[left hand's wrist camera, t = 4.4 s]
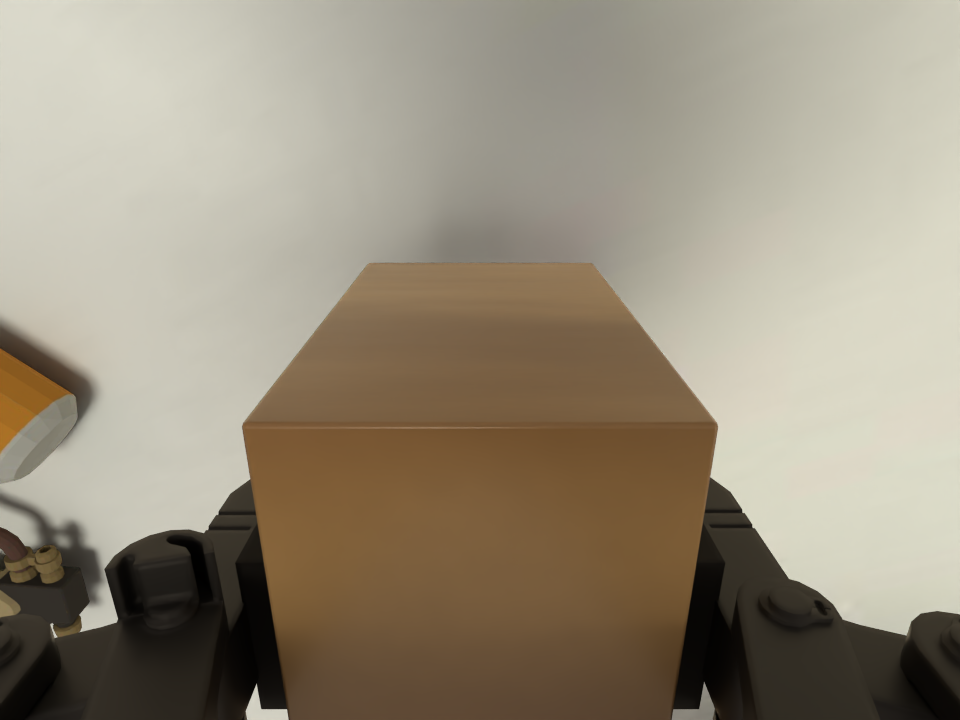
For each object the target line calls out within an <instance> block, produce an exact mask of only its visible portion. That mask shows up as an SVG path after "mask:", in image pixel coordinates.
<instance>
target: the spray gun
mask: <svg viewBox="0 0 960 720" xmlns="http://www.w3.org/2000/svg"><path fill="white" fill-rule="evenodd" d="M77 418H78V415H77V404H76V397H75V396H74V394H72V393H70V392H69V391H67V390H66V389H64V388H62V387H61V386H59V385H58V384H56V383H55V382H53V381H51V380H50V379H48V378H47V377H45V376H43V375H42V374H40V373H39V372H37V371H35V370H34V369H32V368H31V367H29V366H27V365H26V364H24V363H23V362H21V361H20V360H18V359H16V358H15V357H13V356H12V355H10V354H8V353H7V352H5V351H4V350H2V349H0V484H2V483H6V482H11V481H15V480H18V479H21V478H23V477H24V476H26V475H28V474H29V473H31V472H32V471H33V470H34V469H35V468H36V467H38V466H39V465H40V464H41V463H42V462H43V461H44V460H45V459H46V458H47V457H48V456H49V455H50V454H51V453H52V452H53V451H54V450H55V449H56V448H57V446H58V445H59V444H60V443H61V442H62V441H63V440H64V438H65V437H66V436H67V434H68V433H69V432H70V430H71V429H72V428H73V426H74V424H75V422H76V420H77ZM0 549H2V550H3V551H4V553H5V554H6V555H5V557H4V563H5V566H6V569H5V570H3V571H1V570H0V617H4V616H11V615H18V614H30V615H36V616H41V617H42V618H43V619H44V620H46V621H47V622H48V623H49V624H51V623H53V624H54V625H53V629H54V631H55V633H56V635H57V637H62V636H66V635H70V634H75V633H78V632H80V630H81V628H82V624H81V617H80V616H79V614H80V613H81V612H82V611H83V610H84V608H85V607H86V606H87V605H88V604H89V598H88V594H87V591H86V587H85V583H84V580H83V576H82V573H81V569H80V568H77V567H63V566H60V565H61V563H62V557H61V554H60V552H59V551H58V550H57V549H56V547H55V546H53V545H45V546H43V547H41V548H40V549H38V550H37V551H36V553H35V554H33V551H32V549H31V548H30V547H27V546H24V544H23V543H22V542H21V540H20V539H19V538H18V537H17V536H16V535H14V534H12V533H11V532H9V531H8V530H6V529H4V528H1V527H0Z"/></svg>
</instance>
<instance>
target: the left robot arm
mask: <svg viewBox="0 0 960 720" xmlns="http://www.w3.org/2000/svg"><path fill="white" fill-rule="evenodd" d="M105 573H106V577H107V580H108V584H109V587H110V591H111V595H112V598H113V602H114V605H115V609H116V613H117V616H118V621H117V623H114V624H111V625H107V626H104V627H101V628H96V629H92V630H88V631H83V632H79V633H75V634H70V635H66V636H62V637H57V638H54V635H53V632H52V629H51V626H50V624H49V623H48V622H47V621H46V620H44V619H43V618H42V617H41V616H36V615H30V614H18V615H11V616H4V617H0V720H247V717H246V709H247V706H248V704H249V701H250V699H251V696H252V694H253V691H254V688H255V686H256V683H257V687H258V693H259V698H260V704H261V709H287V705H286V699H285V692H284V686H283V680H282V674H281V667H280V661H279V655H278V648H277V642H276V636H275V630H274V623H273V617H272V611H271V605H270V598H269V592H268V586H267V579H266V573H265V567H264V561H263V554H262V548H261V542H260V536H259V529H258V523H257V517H256V510H255V504H254V498H253V492H252V485H251V479H250V480H249V481H247V482H246V483H245V484H243V485H242V486H241V487H239V488H238V489H236V490H235V491H234V492H232V493H231V494H230V495H229V497H228V498H227V500H226V501H225V503H224V504H223V506H222V507H221V509H220V510H219V514H218V515H216V516H215V518H214V519H213V521H212V522H211V524H210V525H209V530H206V531H205V533H200V532H196V531H192V530H170V531H166V532H162V533H158V534H154V535H150V536H148V537H145V538H143V539H141V540H139V541H137V542H134V543H132V544H130V545H129V546H127V547H126V548H125V549H123V550H122V551H121V552H119V553H118V554H117V555H115V556H114V557H113V559H112V560H111V561H110V563H109V564H108V565H107V567H106V568H105ZM704 682H705V684H706V687H707V689H708V692H709V694H710V697H711V699H712V702H713V704H714V707H715V711H714V717H713V720H960V615H959V614H953V613H946V612H939V611H935V612H929V613H922V614H920V615H919V616H918V617H916V618H915V619H914V620H913V621H912V622H911V625H910V628H909V631H908V634H907V636H905V635H901V634H897V633H892V632H888V631H884V630H879V629H875V628H871V627H866V626H862V625H858V624H855V623H852V622H848V621H845V620H842V618H841V616H840V615H839V613H838V611H837V610H836V608H835V607H834V605H833V604H832V603H831V602H830V601H828V600H827V599H826V598H825V597H824V596H822V595H821V594H820V593H819V592H818V591H816V590H814V589H812V588H810V587H808V586H806V585H804V584H802V583H800V582H797V581H794V580H790V579H788V577H787V576H786V574H785V573H784V571H783V570H782V568H781V567H780V565H779V564H778V562H777V561H776V559H775V558H774V556H773V555H772V553H771V552H770V550H769V549H768V547H767V546H766V544H765V543H764V541H763V540H762V538H761V537H760V535H759V534H758V532H757V531H756V529H755V528H752V524H751V522H750V521H749V519H748V518H747V516H746V515H745V513H742V509H741V507H740V506H739V504H738V503H737V501H736V500H735V498H734V497H733V495H732V494H731V492H730V491H728V490H727V489H726V488H724V487H723V486H721V485H720V484H719V483H717V482H716V481H715V480H713V479H712V478H710V481H709V487H708V493H707V499H706V506H705V512H704V518H703V525H702V531H701V537H700V543H699V550H698V556H697V562H696V569H695V575H694V581H693V587H692V594H691V600H690V606H689V613H688V619H687V625H686V631H685V638H684V644H683V650H682V656H681V663H680V669H679V675H678V682H677V688H676V694H675V700H674V707H673V709H699V706H700V701H701V695H702V690H703V684H704Z"/></svg>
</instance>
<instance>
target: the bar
mask: <svg viewBox="0 0 960 720" xmlns="http://www.w3.org/2000/svg"><path fill="white" fill-rule="evenodd" d="M242 429H243V435H244V441H245V448H246V454H247V460H248V467H249V473H250V479H251V485H252V492H253V498H254V504H255V510H256V517H257V523H258V529H259V536H260V542H261V548H262V554H263V561H264V567H265V573H266V579H267V586H268V592H269V598H270V605H271V611H272V617H273V623H274V630H275V636H276V642H277V648H278V655H279V661H280V667H281V674H282V680H283V686H284V692H285V699H286V705H287V711H288V717H289V720H671V719H672V713H673V707H674V700H675V694H676V688H677V682H678V675H679V669H680V663H681V656H682V650H683V644H684V638H685V631H686V625H687V619H688V613H689V606H690V600H691V594H692V587H693V581H694V575H695V569H696V562H697V556H698V550H699V543H700V537H701V531H702V525H703V518H704V512H705V506H706V499H707V493H708V487H709V481H710V474H711V468H712V462H713V456H714V449H715V443H716V437H717V430H718V425H717V422H716V421H715V420H714V419H713V417H712V416H711V415H710V414H709V412H708V411H707V410H706V408H705V407H704V406H703V405H702V403H701V402H700V401H699V399H698V398H697V397H696V396H695V394H694V393H693V392H692V390H691V389H690V388H689V387H688V385H687V384H686V383H685V382H684V380H683V379H682V378H681V376H680V375H679V374H678V373H677V371H676V370H675V369H674V367H673V366H672V365H671V364H670V362H669V361H668V360H667V358H666V357H665V356H664V355H663V353H662V352H661V351H660V350H659V348H658V347H657V346H656V344H655V343H654V342H653V341H652V339H651V338H650V337H649V335H648V334H647V333H646V332H645V330H644V329H643V328H642V326H641V325H640V324H639V323H638V321H637V320H636V319H635V317H634V316H633V315H632V314H631V312H630V311H629V310H628V309H627V307H626V306H625V305H624V303H623V302H622V301H621V300H620V298H619V297H618V296H617V294H616V293H615V292H614V291H613V289H612V288H611V287H610V285H609V284H608V283H607V282H606V280H605V279H604V278H603V277H602V275H601V274H600V273H599V271H598V270H597V269H596V268H595V266H594V265H593V264H592V263H369V264H368V265H367V266H366V267H365V268H364V270H363V271H362V272H361V273H360V275H359V276H358V277H357V279H356V280H355V281H354V282H353V284H352V285H351V286H350V288H349V289H348V290H347V291H346V293H345V294H344V295H343V296H342V298H341V299H340V300H339V302H338V303H337V304H336V305H335V307H334V308H333V309H332V310H331V312H330V313H329V314H328V316H327V317H326V318H325V319H324V321H323V322H322V323H321V324H320V326H319V327H318V328H317V330H316V331H315V332H314V333H313V335H312V336H311V337H310V339H309V340H308V341H307V342H306V344H305V345H304V346H303V347H302V349H301V350H300V351H299V353H298V354H297V355H296V356H295V358H294V359H293V360H292V361H291V363H290V364H289V365H288V367H287V368H286V369H285V370H284V372H283V373H282V374H281V375H280V377H279V378H278V379H277V381H276V382H275V383H274V384H273V386H272V387H271V388H270V390H269V391H268V392H267V393H266V395H265V396H264V397H263V398H262V400H261V401H260V402H259V404H258V405H257V406H256V407H255V409H254V410H253V411H252V412H251V414H250V415H249V416H248V418H247V419H246V420H245V421H244V423H243V426H242Z"/></svg>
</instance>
